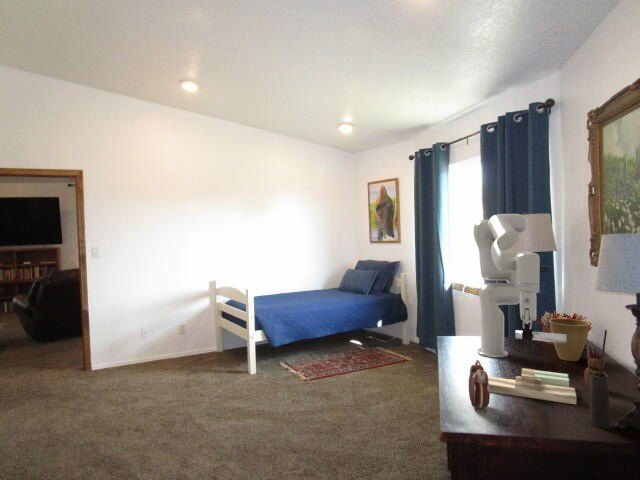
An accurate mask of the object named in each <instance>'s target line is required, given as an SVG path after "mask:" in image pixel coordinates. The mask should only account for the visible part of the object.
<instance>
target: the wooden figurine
mask: <svg viewBox="0 0 640 480" xmlns="http://www.w3.org/2000/svg"><path fill="white" fill-rule="evenodd" d="M588 350H589V351H588V355H589V356H588V357H589V358H588V359H587V365H588V366H587V367H586V368H585V370H584V373H583V374H584V375H583V376H584V378H583V379H584V383H585V384H586V386H587V388H588V389H589V390H590V374H589V373H588V372H589V371H591V372H592V373H595V374H596V373H599V371H600V364H601V357H602V353H600V352H599V351H597V349H596V348H595V347H594V348H593V350H592V347H591V345H589V349H588ZM604 367H605V362H604V360H603V365H602V373H601V374H605V375H607V379H609V378H608V374H607V372H606V371H605V370H604Z"/></svg>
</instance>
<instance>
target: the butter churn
mask: <svg viewBox="0 0 640 480" xmlns="http://www.w3.org/2000/svg"><path fill="white" fill-rule="evenodd" d="M607 334H608V330H607V329H604V336H603V342H602V343H603V344H602V348H601V349H602V351H601V355H602V357H601V364H600V371H599V373H596V374H595V373H592V372H591V371H589V372H588V373H589V374H590V389H589V403H590V404H589V412H590V413H589V418H590V419H589V420H590V421H589V422H590V424H591V425H592V426H593V427H595V428H597V429H601V428H602V429H603V430H607V429H610V428H612V419H611V418H612V417H611V407H610V394H609V381H608V379H609V378H608V379H607V376H608V374H607V375H605V374H601V373H602V365H603V361H604V356H605V348H606V341H607Z"/></svg>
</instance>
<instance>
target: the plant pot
mask: <svg viewBox="0 0 640 480" xmlns="http://www.w3.org/2000/svg"><path fill="white" fill-rule="evenodd" d="M590 325H591V324H590V322H587V321H584V320H582V319H581V320H578V319H575V318H574V319H572V318H552V319H551V318H550V319H549V326H550V333H555V334H566V335H567V343H557V342H553V345H554V348H555V351H556V354H557V356H558V358H559V359H560V360H563V361H568V362H578V361H579V360H580V358H581V356H582V354H583V351H584V350H585V349H584V348H585V345H586V342H587V339H588V336H589V335H588V333H589V328H590Z"/></svg>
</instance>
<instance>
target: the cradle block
mask: <svg viewBox="0 0 640 480" xmlns="http://www.w3.org/2000/svg"><path fill="white" fill-rule="evenodd" d="M534 370H535V378H536V379H541V384H549V385H556V386H563V387H570V378H569V374H568V373H560V372H553V371H546V370H545V371H544V370H538V369H537V370H536V369H534Z"/></svg>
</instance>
